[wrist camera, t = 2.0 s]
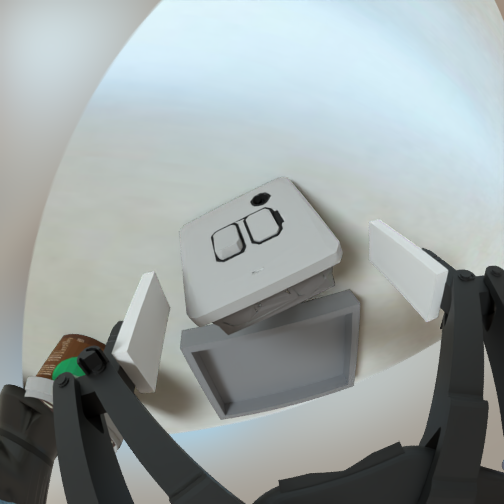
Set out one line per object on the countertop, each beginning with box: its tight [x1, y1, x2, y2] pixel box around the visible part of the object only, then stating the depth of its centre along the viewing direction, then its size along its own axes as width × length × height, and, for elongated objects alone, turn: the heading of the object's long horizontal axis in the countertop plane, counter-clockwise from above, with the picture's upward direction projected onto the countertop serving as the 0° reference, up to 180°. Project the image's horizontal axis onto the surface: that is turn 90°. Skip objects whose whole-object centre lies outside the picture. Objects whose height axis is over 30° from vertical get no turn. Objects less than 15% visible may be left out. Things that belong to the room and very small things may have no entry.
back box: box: [180, 289, 360, 420], centre depth 28 cm, size 17×14×2 cm
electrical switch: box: [179, 177, 343, 335], centre depth 19 cm, size 9×5×9 cm, turn 115°
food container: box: [25, 334, 123, 453], centre depth 22 cm, size 12×6×10 cm, turn 21°
